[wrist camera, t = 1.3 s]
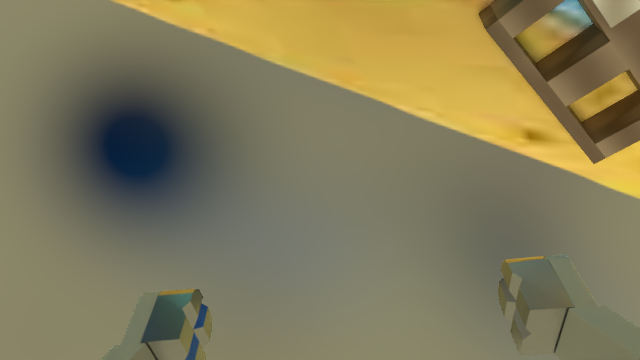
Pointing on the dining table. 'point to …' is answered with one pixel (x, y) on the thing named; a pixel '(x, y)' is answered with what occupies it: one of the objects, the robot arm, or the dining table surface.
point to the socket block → (579, 66)
